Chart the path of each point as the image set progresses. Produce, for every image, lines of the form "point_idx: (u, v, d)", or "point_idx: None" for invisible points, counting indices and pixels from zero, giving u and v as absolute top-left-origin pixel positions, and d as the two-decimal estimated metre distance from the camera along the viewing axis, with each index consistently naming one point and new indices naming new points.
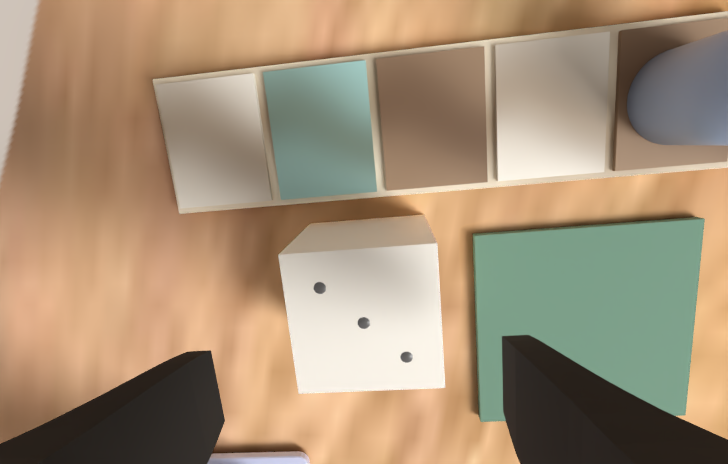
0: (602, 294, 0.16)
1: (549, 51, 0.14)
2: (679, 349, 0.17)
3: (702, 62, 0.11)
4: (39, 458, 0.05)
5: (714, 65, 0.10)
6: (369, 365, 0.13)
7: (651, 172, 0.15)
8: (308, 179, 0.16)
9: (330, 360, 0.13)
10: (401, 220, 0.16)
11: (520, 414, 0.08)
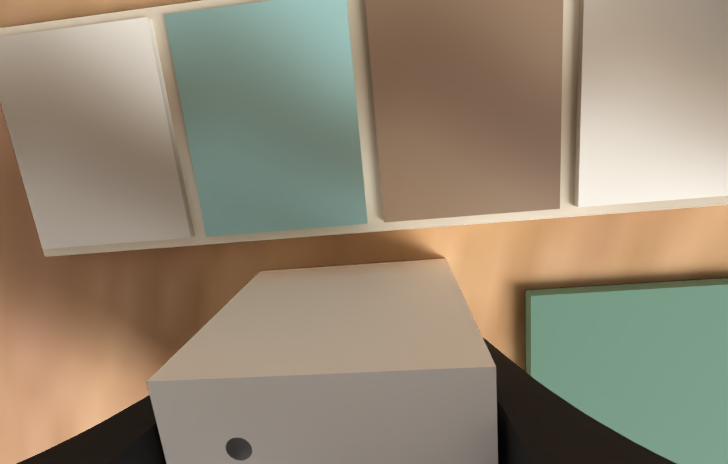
0: None
1: None
2: None
3: None
4: (107, 456, 0.05)
5: None
6: None
7: None
8: (250, 203, 0.09)
9: None
10: (409, 273, 0.09)
11: None
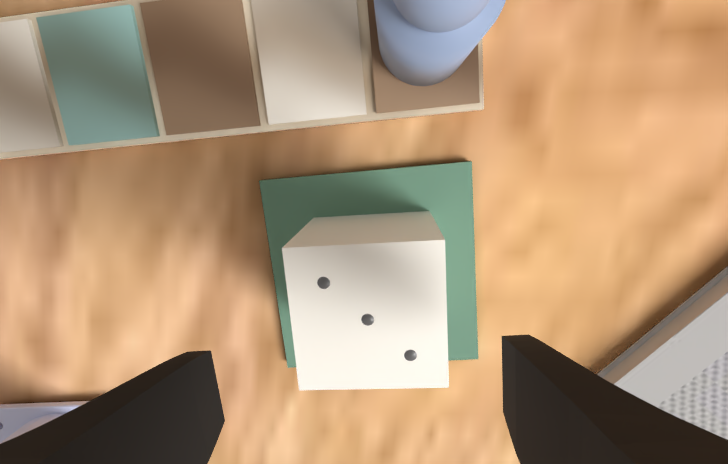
0: None
1: None
2: (464, 292, 0.17)
3: None
4: (39, 458, 0.05)
5: None
6: (371, 363, 0.13)
7: (412, 114, 0.15)
8: (91, 124, 0.16)
9: (332, 356, 0.13)
10: (406, 216, 0.16)
11: (520, 414, 0.08)
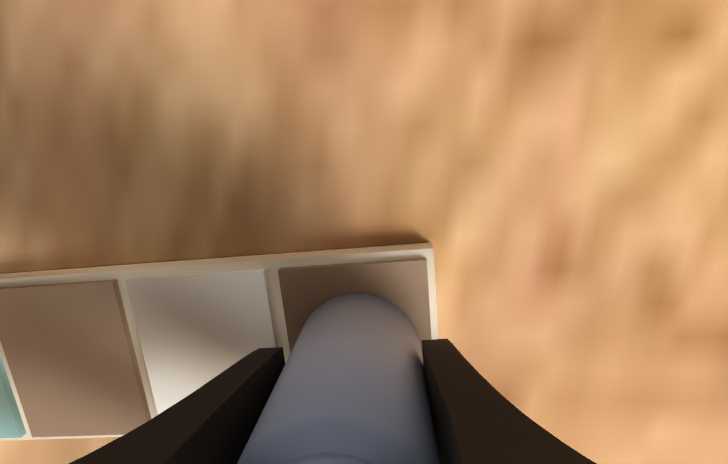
0: None
1: (193, 291, 0.11)
2: None
3: (269, 397, 0.08)
4: (162, 455, 0.05)
5: None
6: None
7: None
8: None
9: None
10: None
11: None
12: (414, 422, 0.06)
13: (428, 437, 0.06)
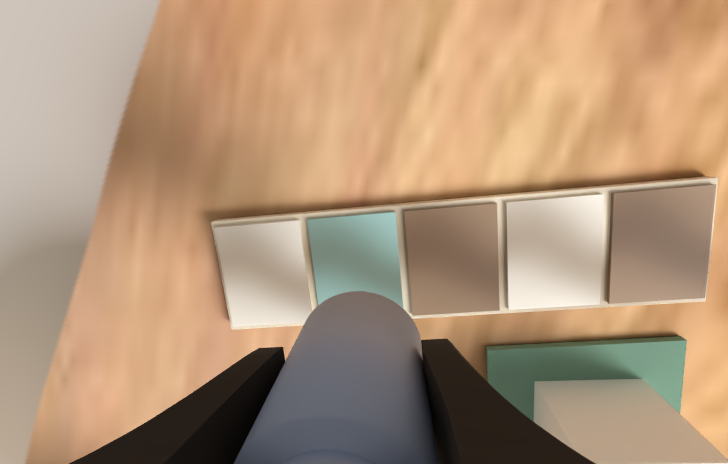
0: None
1: (552, 208, 0.17)
2: None
3: None
4: (162, 456, 0.05)
5: None
6: None
7: (640, 304, 0.17)
8: None
9: None
10: (632, 392, 0.18)
11: None
12: (413, 420, 0.06)
13: (427, 435, 0.06)
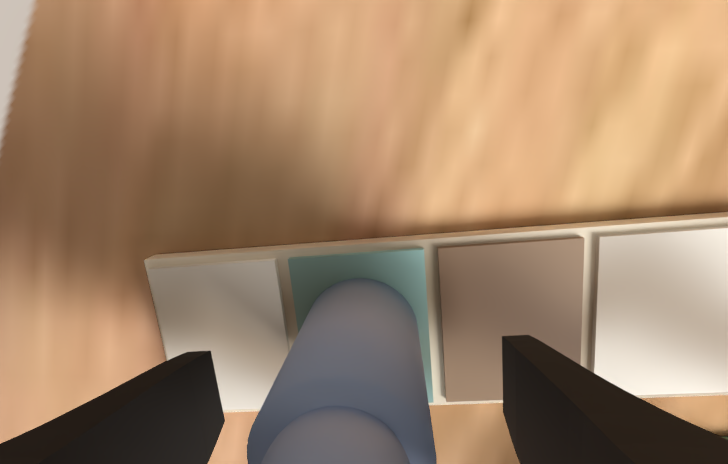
0: None
1: (672, 247, 0.11)
2: None
3: (282, 366, 0.09)
4: (39, 458, 0.05)
5: None
6: None
7: None
8: None
9: None
10: None
11: (520, 414, 0.08)
12: (409, 383, 0.07)
13: (421, 396, 0.07)
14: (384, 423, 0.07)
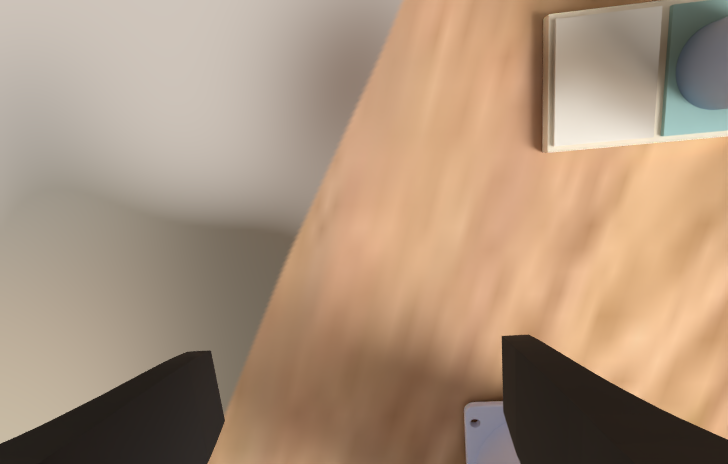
0: None
1: None
2: None
3: None
4: (39, 458, 0.05)
5: None
6: None
7: None
8: (697, 115, 0.16)
9: None
10: None
11: (520, 414, 0.08)
12: None
13: None
14: None
